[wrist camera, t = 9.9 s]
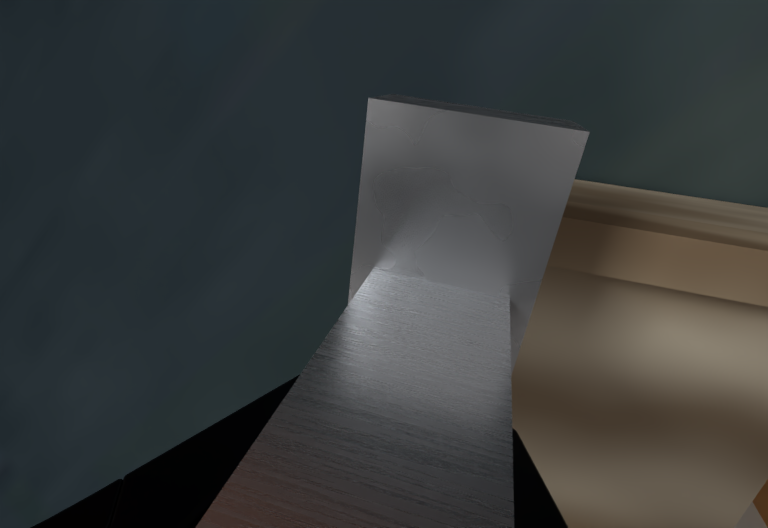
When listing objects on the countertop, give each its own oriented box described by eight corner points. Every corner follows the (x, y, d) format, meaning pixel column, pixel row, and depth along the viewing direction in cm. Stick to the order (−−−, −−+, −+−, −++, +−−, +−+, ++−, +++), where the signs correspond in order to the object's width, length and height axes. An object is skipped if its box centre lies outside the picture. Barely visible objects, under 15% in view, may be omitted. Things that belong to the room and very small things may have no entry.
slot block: (659, 510, 22) (708, 647, 17) (397, 436, 25) (367, 534, 19) (823, 216, 15) (995, 289, 10) (440, 159, 18) (412, 192, 13)
